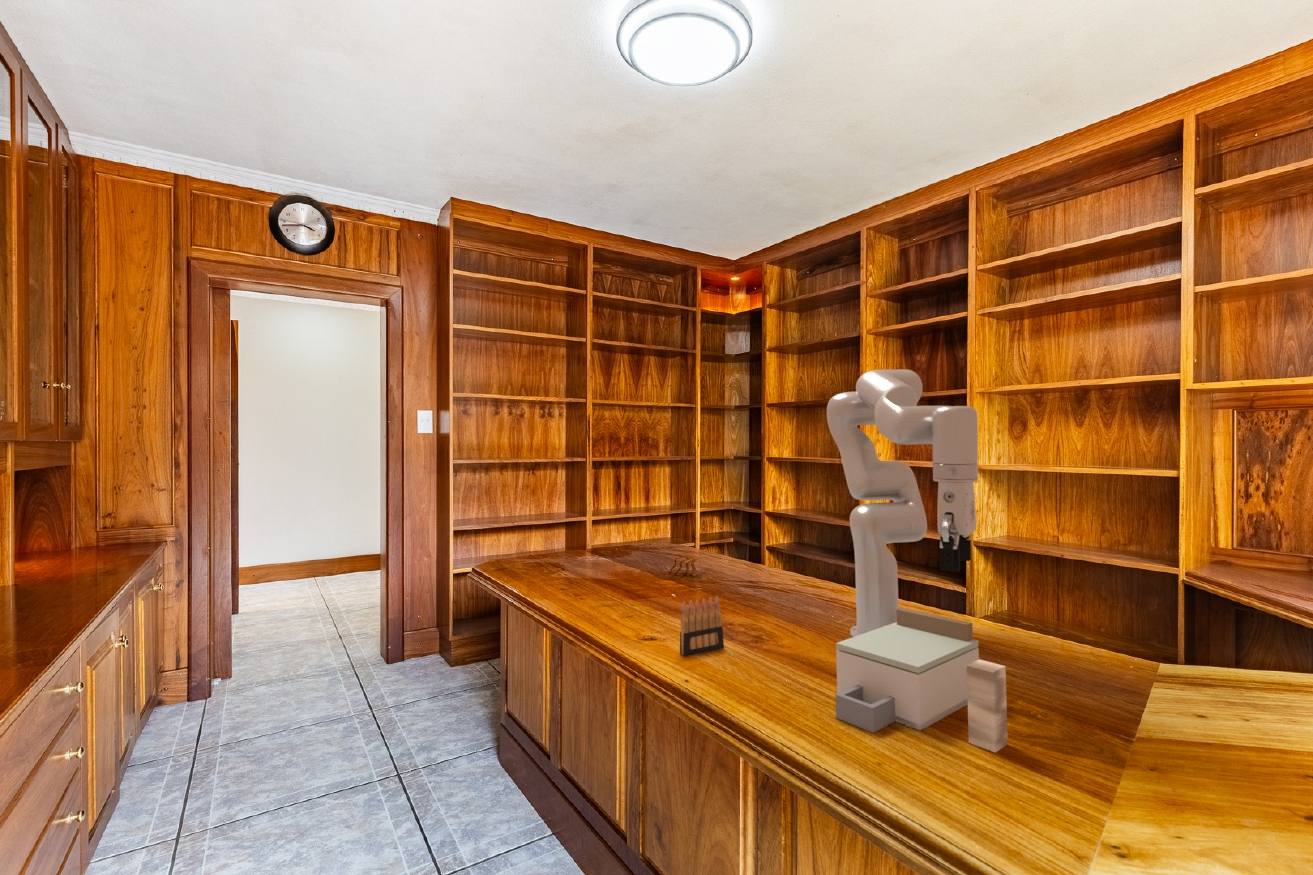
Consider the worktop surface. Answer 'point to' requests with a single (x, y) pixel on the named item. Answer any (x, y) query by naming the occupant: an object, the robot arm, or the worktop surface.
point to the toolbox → (899, 691)
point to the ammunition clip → (701, 628)
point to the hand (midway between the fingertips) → (955, 565)
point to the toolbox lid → (914, 641)
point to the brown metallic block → (987, 705)
